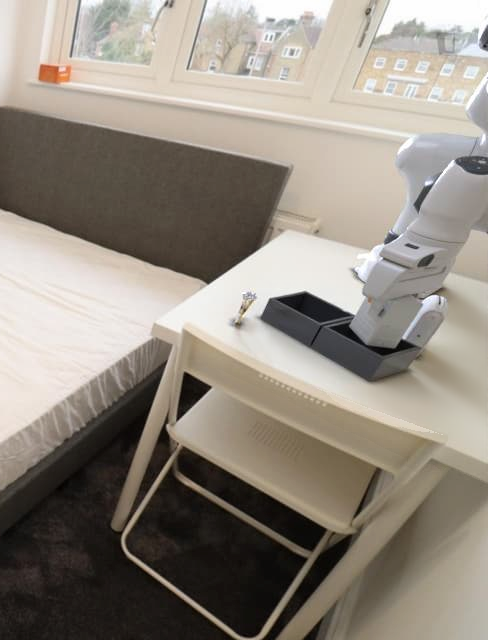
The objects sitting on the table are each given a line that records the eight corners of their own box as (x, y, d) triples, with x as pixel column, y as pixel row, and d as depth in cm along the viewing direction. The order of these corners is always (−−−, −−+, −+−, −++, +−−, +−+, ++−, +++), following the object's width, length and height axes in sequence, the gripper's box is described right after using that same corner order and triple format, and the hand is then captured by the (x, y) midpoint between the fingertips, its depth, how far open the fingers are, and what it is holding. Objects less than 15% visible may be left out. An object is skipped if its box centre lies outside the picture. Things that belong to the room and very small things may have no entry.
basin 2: (347, 338, 117) (359, 317, 114) (407, 369, 107) (422, 347, 104) (310, 347, 113) (322, 326, 109) (369, 381, 103) (384, 358, 100)
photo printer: (418, 360, 111) (453, 311, 103) (394, 352, 113) (427, 303, 106) (420, 342, 117) (453, 294, 110) (397, 335, 119) (429, 288, 112)
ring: (240, 330, 117) (254, 300, 113) (226, 325, 119) (239, 295, 115) (248, 319, 122) (262, 290, 117) (235, 315, 124) (247, 285, 119)
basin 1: (295, 310, 127) (305, 290, 124) (345, 337, 117) (358, 316, 114) (259, 318, 123) (269, 298, 120) (308, 346, 113) (320, 325, 110)
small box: (394, 349, 103) (425, 304, 97) (365, 345, 104) (393, 301, 98) (375, 329, 110) (402, 286, 104) (347, 326, 111) (373, 283, 105)
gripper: (441, 237, 101) (402, 298, 109) (376, 248, 94) (339, 312, 102) (477, 249, 96) (433, 312, 104) (412, 261, 90) (371, 327, 98)
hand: (386, 312), depth 103 cm, fingers closed on small box, 8 cm apart
